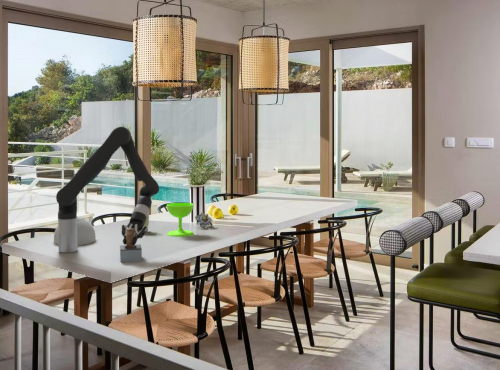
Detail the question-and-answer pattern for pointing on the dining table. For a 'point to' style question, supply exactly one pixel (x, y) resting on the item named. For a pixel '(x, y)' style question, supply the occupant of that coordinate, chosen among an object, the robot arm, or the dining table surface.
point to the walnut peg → (130, 237)
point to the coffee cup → (147, 222)
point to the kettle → (81, 232)
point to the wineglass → (180, 217)
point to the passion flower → (204, 220)
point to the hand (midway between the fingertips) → (128, 243)
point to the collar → (130, 253)
